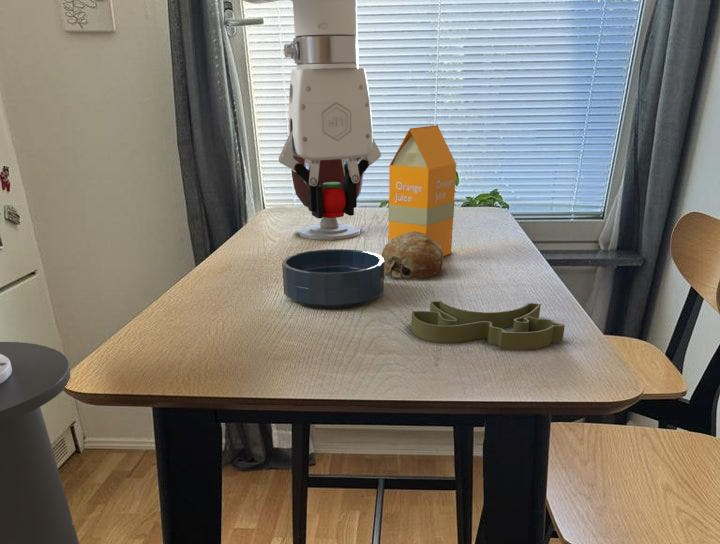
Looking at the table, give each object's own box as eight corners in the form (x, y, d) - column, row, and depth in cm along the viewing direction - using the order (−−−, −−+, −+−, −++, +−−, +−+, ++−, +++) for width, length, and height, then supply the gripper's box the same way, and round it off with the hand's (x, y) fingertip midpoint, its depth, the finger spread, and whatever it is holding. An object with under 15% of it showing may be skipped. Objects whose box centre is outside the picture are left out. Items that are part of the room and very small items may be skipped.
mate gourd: (280, 235, 133) (272, 121, 122) (322, 224, 143) (318, 117, 132) (345, 244, 125) (342, 124, 115) (383, 231, 135) (384, 119, 125)
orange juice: (452, 253, 118) (459, 125, 108) (425, 263, 112) (430, 129, 102) (414, 248, 122) (418, 124, 112) (387, 257, 116) (388, 127, 106)
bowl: (300, 316, 88) (298, 277, 86) (273, 288, 100) (271, 254, 97) (399, 303, 93) (399, 267, 90) (362, 279, 104) (362, 245, 101)
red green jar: (323, 219, 88) (322, 186, 86) (315, 214, 92) (313, 182, 89) (350, 217, 90) (350, 184, 87) (341, 212, 93) (340, 180, 90)
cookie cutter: (553, 318, 86) (555, 303, 85) (566, 351, 76) (568, 334, 75) (413, 315, 88) (414, 300, 87) (407, 346, 78) (408, 329, 77)
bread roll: (376, 297, 108) (370, 255, 101) (393, 256, 113) (387, 214, 107) (437, 302, 105) (434, 260, 99) (450, 260, 110) (448, 217, 104)
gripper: (267, 55, 76) (280, 225, 85) (402, 53, 80) (400, 215, 90) (252, 56, 82) (266, 215, 91) (378, 55, 86) (379, 206, 96)
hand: (332, 213), depth 90 cm, fingers closed on red green jar, 3 cm apart
